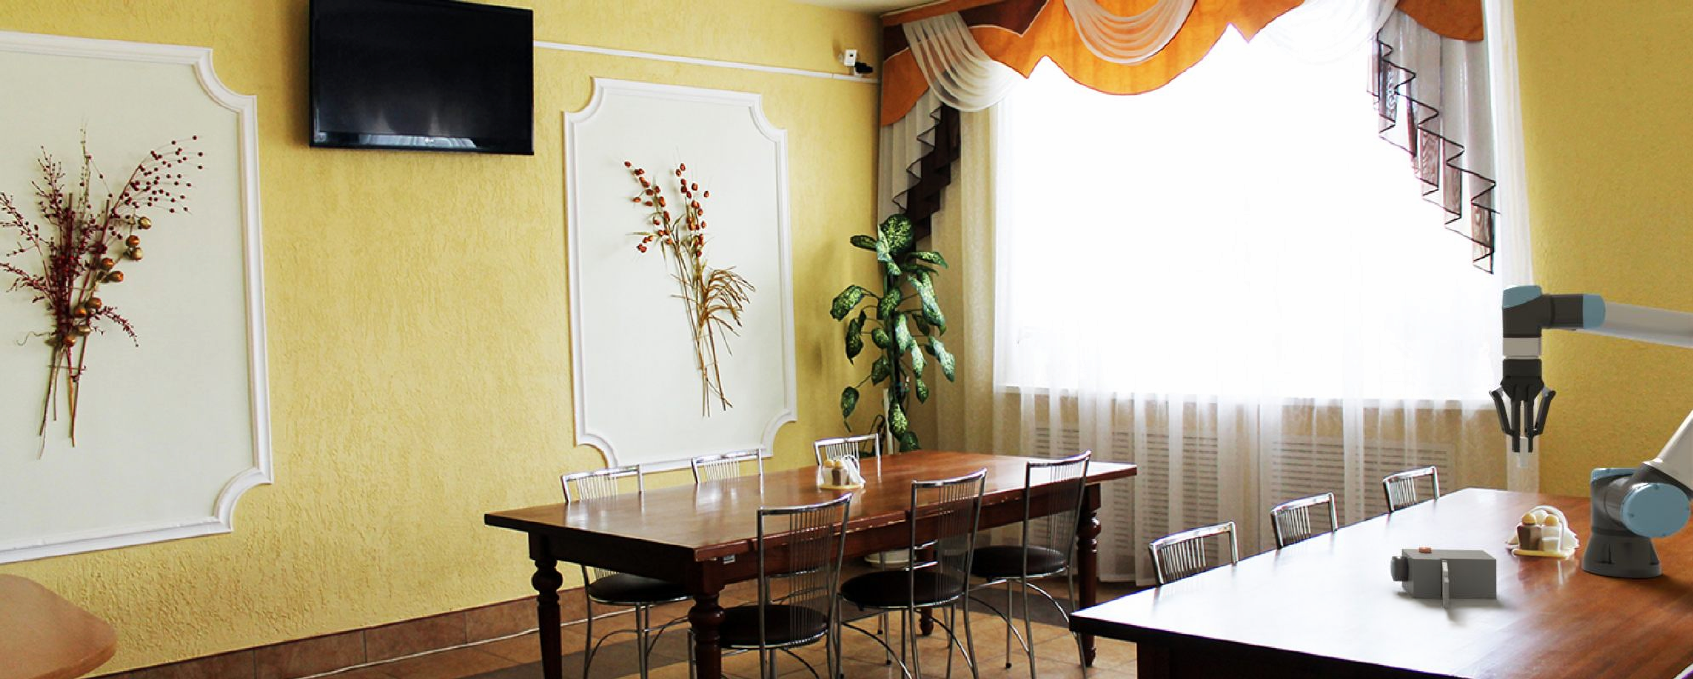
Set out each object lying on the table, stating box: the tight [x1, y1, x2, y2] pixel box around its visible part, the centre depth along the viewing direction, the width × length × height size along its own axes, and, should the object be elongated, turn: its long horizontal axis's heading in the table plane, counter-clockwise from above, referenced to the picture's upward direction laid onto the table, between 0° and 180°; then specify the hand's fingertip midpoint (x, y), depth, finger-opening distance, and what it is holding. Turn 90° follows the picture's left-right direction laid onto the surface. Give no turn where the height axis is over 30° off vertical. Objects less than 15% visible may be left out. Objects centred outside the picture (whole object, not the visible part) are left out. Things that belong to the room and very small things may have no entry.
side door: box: [1441, 560, 1450, 609], centre depth 262 cm, size 16×1×8 cm, turn 157°
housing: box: [1389, 546, 1497, 600], centre depth 274 cm, size 19×11×9 cm, turn 79°
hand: (1522, 467), depth 283 cm, fingers closed
